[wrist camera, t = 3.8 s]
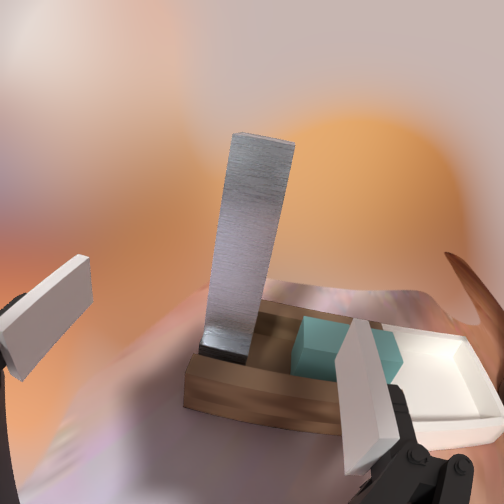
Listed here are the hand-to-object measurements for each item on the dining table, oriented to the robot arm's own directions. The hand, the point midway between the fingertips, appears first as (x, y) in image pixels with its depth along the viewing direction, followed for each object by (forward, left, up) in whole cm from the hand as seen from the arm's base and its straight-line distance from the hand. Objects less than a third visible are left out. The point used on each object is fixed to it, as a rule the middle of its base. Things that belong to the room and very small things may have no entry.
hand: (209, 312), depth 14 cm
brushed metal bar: (-1, -8, -9) cm, 12 cm away
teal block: (-8, -8, -9) cm, 14 cm away
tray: (-21, -8, -11) cm, 25 cm away
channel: (-7, -8, -11) cm, 15 cm away
